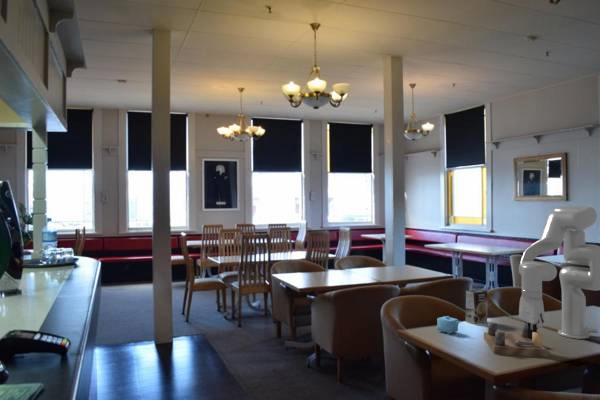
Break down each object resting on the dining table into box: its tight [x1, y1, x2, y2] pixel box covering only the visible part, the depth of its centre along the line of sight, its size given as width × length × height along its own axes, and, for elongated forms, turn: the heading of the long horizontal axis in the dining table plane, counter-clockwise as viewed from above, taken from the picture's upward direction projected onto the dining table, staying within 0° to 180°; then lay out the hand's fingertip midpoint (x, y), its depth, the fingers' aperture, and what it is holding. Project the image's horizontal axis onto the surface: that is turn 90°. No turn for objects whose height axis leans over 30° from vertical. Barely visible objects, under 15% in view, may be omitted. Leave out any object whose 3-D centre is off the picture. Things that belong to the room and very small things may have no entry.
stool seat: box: [483, 321, 549, 358], centre depth 191 cm, size 20×20×8 cm
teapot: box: [436, 315, 462, 335], centre depth 212 cm, size 12×6×8 cm, turn 41°
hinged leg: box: [515, 331, 543, 347], centre depth 183 cm, size 10×4×5 cm, turn 76°
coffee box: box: [465, 289, 488, 325], centre depth 230 cm, size 9×6×16 cm
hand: (532, 338), depth 186 cm, fingers closed
